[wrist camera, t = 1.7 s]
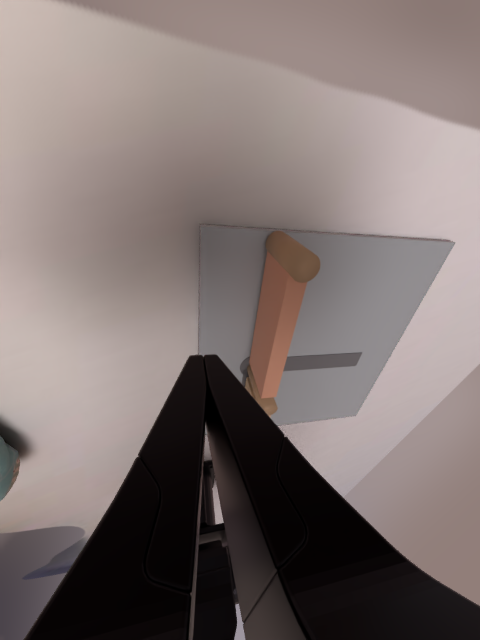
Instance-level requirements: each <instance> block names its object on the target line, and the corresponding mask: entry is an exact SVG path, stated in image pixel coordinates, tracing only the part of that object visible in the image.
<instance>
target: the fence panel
mask: <svg viewBox="0 0 480 640" xmlns="http://www.w3.org/2000/svg"><path fill="white" fill-rule="evenodd" d="M266 249H267V256H266V262H265V268H264V274H263V280H262V286H261V292H260V298H259V305H258V311H257V317H256V323H255V329H254V335H253V341H252V347H251V353H250V360H249V363H250V365H249V366H248V367H247V372H248V375H249V378H250V382H251V385H252V388H253V391H254V395H255V398H256V401H257V403H258V404H259V405H260V406H261V407H262V409H263V410H264V411H265V412H266V413H267V414H268V416H269V415H272V414H274V413H275V412H276V411H277V409H278V407H277V404H276V402H275V399H274V397H276V396H277V392H278V388H279V385H280V381H281V377H282V374H283V370H284V366H285V363H286V359H287V355H288V352H289V348H290V344H291V341H292V337H293V333H294V330H295V326H296V322H297V319H298V315H299V311H300V308H301V304H302V300H303V297H304V293H305V289H306V286H307V282H308V281H310V280H312V279H313V278H314V277H315V276H316V275H317V274H318V272H319V270H320V265H321V264H320V259H319V257H318V256H317V255H316V254H314V253H313V252H311V251H310V250H309V249H307V248H306V247H304V246H303V245H301V244H300V243H299V242H297V241H296V240H294V239H293V238H292V237H290V236H289V235H287V234H286V233H284V232H283V231H275V232H273V233H271V234H270V235H269V236H268V238H267V240H266Z"/></svg>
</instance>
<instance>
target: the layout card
mask: <svg viewBox="0 0 480 640" xmlns="http://www.w3.org/2000/svg"><path fill="white" fill-rule="evenodd" d="M275 231H283V232H284V233H286V234H287V235H289V236H290V237H292V238H293V239H294V240H296V241H297V242H299V243H300V244H301V245H303V246H304V247H306V248H307V249H309V250H310V251H311V252H313V253H314V254H316V255H317V256H318V257H319V259H320V264H321V265H320V270H319V272H318V274H317V275H316V276H315V277H314V278H313V279H312V280H310V281H308V282H307V286H306V289H305V293H304V297H303V300H302V304H301V308H300V311H299V315H298V319H297V322H296V326H295V330H294V333H293V337H292V341H291V344H290V348H289V352H288V355H287V359H286V363H285V366H284V370H283V374H282V377H281V381H280V385H279V388H278V392H277V396H276V397H274V399H275V402H276V404H277V407H278V409H277V411H276V412H275V413H274V414H272V415H271V419H272V420H273V422H274V423H275V424H276V425H277V426H280V425H288V424H296V423H304V422H312V421H320V420H328V419H336V418H344V417H352V416H356V415H357V413H358V411H359V410H360V408H361V406H362V404H363V403H364V401H365V399H366V397H367V396H368V394H369V392H370V390H371V389H372V387H373V385H374V384H375V382H376V380H377V378H378V377H379V375H380V373H381V371H382V370H383V368H384V366H385V364H386V363H387V361H388V359H389V357H390V356H391V354H392V352H393V350H394V349H395V347H396V345H397V343H398V342H399V340H400V338H401V337H402V335H403V333H404V331H405V330H406V328H407V326H408V324H409V323H410V321H411V319H412V317H413V316H414V314H415V312H416V310H417V309H418V307H419V305H420V303H421V302H422V300H423V298H424V296H425V295H426V293H427V291H428V290H429V288H430V286H431V284H432V283H433V281H434V279H435V277H436V276H437V274H438V272H439V270H440V269H441V267H442V265H443V263H444V262H445V260H446V258H447V256H448V255H449V253H450V251H451V249H452V248H453V246H454V244H455V242H452V241H449V240H434V239H419V238H404V237H388V236H373V235H358V234H342V233H327V232H312V231H296V230H281V229H266V228H250V227H235V226H220V225H204V224H200V271H199V353H198V355H202V356H203V357H204V355H209V354H216V355H218V356H219V358H220V359H221V360H222V361H223V362H224V363H225V365H226V366H227V367H228V368H229V369H230V371H231V372H232V373H233V374H234V375H235V377H236V378H237V379H238V380H239V381H240V382H241V384H242V385H243V386H244V387H245V384H246V378H247V377H249V375H248V372H247V367H248V366H249V365H250V363H249V360H250V353H251V347H252V341H253V335H254V329H255V323H256V317H257V311H258V305H259V298H260V292H261V286H262V280H263V274H264V268H265V262H266V256H267V249H266V240H267V238H268V236H269V235H270V234H271V233H273V232H275ZM205 435H207V429H206V426H205Z"/></svg>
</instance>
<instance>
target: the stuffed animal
mask: <svg viewBox="0 0 480 640" xmlns="http://www.w3.org/2000/svg"><path fill="white" fill-rule="evenodd" d="M19 467H20V460H19V454H18V451H17V450H15V449H14V448H12V447H11V446H10V445H8V444H7V443H5V442H4V439H3V438H2V437H1V436H0V501H1V500H2V499H3V498H4V497H5V496H6V495H7V493H8V492H9V490H10V489H11V487H12V486H13V484H14V482H15V481H16V478H17V476H18V473H19Z"/></svg>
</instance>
